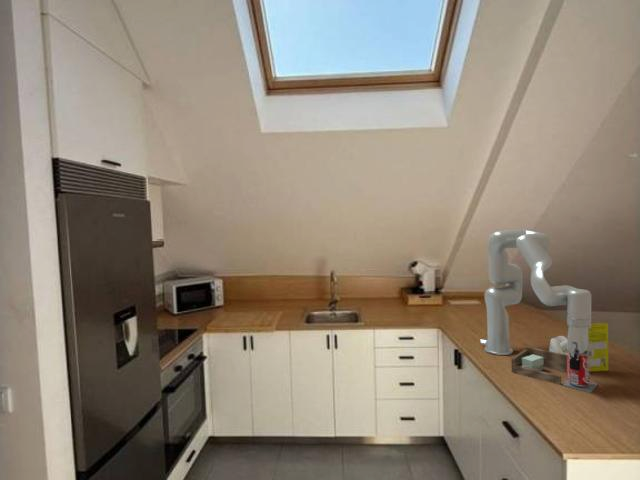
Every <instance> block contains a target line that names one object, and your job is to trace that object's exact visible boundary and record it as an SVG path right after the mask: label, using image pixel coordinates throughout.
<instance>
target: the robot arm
mask: <svg viewBox="0 0 640 480" xmlns="http://www.w3.org/2000/svg"><path fill="white" fill-rule="evenodd" d="M551 246H552V241H551V239H550V237H549V236H548V235H547V234H545V233H542V232H538V231H533V230H528V229H504V230H502V229H501V230H496V231H495V232H492V233H491V234H490V235H489V237H488V239H487V249H488V251H487V252H488V280H489V282H490V283H492V284H494V285H498V286H491V287H489V288H487V289H486V290H485V292H484V296H483V297H484V302H485V306H486V307H485V308H486V320H487V321H486V323H487V324H486V325H487V326H486V327H487V330H486V331H487V339H483V338H480V340H479V342H480V345H485V346H484V351H485V352H486V353H488V354H492V355H497V356H509V355H512V354H513V353H514V350H513V348H512V347H510V327H509V326H510V323H509V322H510V319H509V313H508V311H507V309H506V306H513V305H517V304H520V302H521V300H522V298H523V282H524V281H523V280H524V279H523V277H524V276H523V275H524V274H523V271H522V269H521V267H520V266H519V265H518V264H516V263H509V254H508V252H507V250H506V249H515V248H516V249H518V251H519V253H520V254H521V256H522V257H523V259H524V260H525V262H526V264H527V265H528V267H529V269H530V271H531V272H530V285H531V288H532V290H533V291H534V294H535V295H536V297H537V298H538V299H539V301H540V302H541V303H542V304H543V305H544V306H547V307H556V306H565V305H566V307H567V309H566V311H567V313H566V322H567V323H566V324H567V326H568V329H567V351H568V352H570V369H572V370H577V371H580V360H579V357H580V354H582V353H584V352H585V353H587V352H588V350H587V349H588V345H589V332H588V328H591V324H592V293H591V292H590V291H589V290H588V289H582V288H577V287H574V286H571V285H563V284H562V285H554V286H551V285H550V284H549V283H548V282H547V279H546V277H545V271H546V270H547V269H549V268H550V267H551V266H552V264H553V261H552V258H551V257H550V255H549V253H547V251H549V250H550V249H551ZM577 351H579V352H577ZM576 354H577V355H576ZM587 354H588V353H587ZM587 356H588V355H587Z"/></svg>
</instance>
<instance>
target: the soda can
mask: <svg viewBox="0 0 640 480" xmlns="http://www.w3.org/2000/svg"><path fill="white" fill-rule="evenodd" d="M577 352H579V351H577ZM576 355H577V354H576ZM587 355H588V354H587V353H585V352H584V353H582V354H580V357H579V360H580V371H577V370H572V369H570V353H569V354H568V357H567V372H566V375H567V376H566V377H567V380H568V381H569V382H570V383H571V384H572V385H575V386H581V387H585V386H587V385H589V382H590V374H591V371H590V361H589V357H588V356H587Z"/></svg>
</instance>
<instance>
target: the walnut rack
mask: <svg viewBox="0 0 640 480" xmlns="http://www.w3.org/2000/svg"><path fill="white" fill-rule="evenodd" d="M524 348H525V349H523V350H522V351H520V352H519V353H517V354H516V355H514V356H512V357H511V373H514V374H518V375H522V376H526V377H530V378H534V379H537V380H541V381H546V382H548V381H549V383H552V382H553V384H556V383H557V385H562V376H561V375H558V374H554V373H549V372H545V371H543V370H541V371H538V370H534V369H529V368H525V367H521V366H522V358H523V357H526V356H530V355H533V354H534V355H537V356H541V357H543V361H544V364H543V368H547V369H550V370H555V371H560V372H564V373H567V357H568V355H566V354H561V353H556V352H551V351H549V350H544V349H539V348H537V347H536V348H535V347H530V346H525V347H524Z"/></svg>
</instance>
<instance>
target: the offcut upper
mask: <svg viewBox="0 0 640 480" xmlns="http://www.w3.org/2000/svg"><path fill="white" fill-rule="evenodd" d="M543 364H544V361H543V357H541V356H537V355H534V354H533V355H530V356H526V357H523V358H522V365H524V366H527V367H530V368H534V367H537V366H540V365H543Z"/></svg>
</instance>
